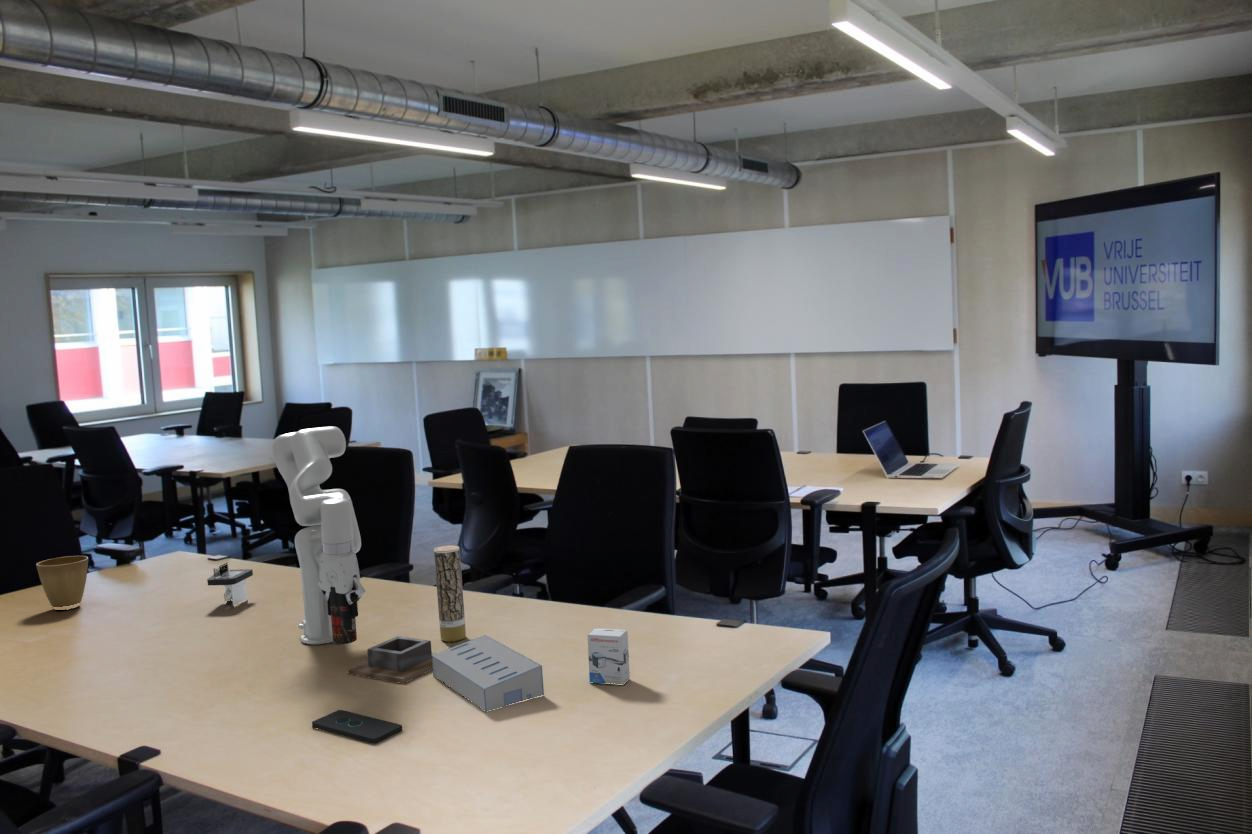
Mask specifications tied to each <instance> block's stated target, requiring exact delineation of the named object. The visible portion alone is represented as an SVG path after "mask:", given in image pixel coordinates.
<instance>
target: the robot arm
mask: <svg viewBox="0 0 1252 834" xmlns="http://www.w3.org/2000/svg"><path fill="white" fill-rule="evenodd" d="M346 447H347V440H346V437H345V434H344V433H343V431H342V430H341V428H339V427H337V426H331V425H330V426H321V427H319V426H318V427H312V428H311V427H310V428H303V429H299V430H298V431H293V432H288V433H284V434H279V435H278V436H277V437H275V438H274V440H273V441H272V447H271V449H272V455H273V456H272V457H273V459H274V460H273V461H274V463H275V466H276V468H277V469H278V472H279V473H280V475H281V476H282V479H283V480H284V482H285V484H286V486H287V489H288V490H287V491H288V494H289V501H290V503H289V504H290V506H291V508H292V512H293V516H294V520H295V522H296V523H297V524H299V526H302V527H304V528H302V529H300V530H299V531H298V532H296V534H295V536H294V546H295V548H294V549H295V551H296V555H297V560H298V563H299V569H300V577H301V587H302V588H301V589H302V598H303V599H302V600H303V601H302V602H303V610H304V619H303V620H302V621H301V623H299V624H298V626H297V628H298V629H299V630H303V634H301V636H300V641H301V643H302V644H303V643H304V644H305V643H306V645H324V644H325V643H326V644H331V643H333V636H332V622H331V609H330V595H329V592H331V591H330V586H331V587H335V590H336V593H338V594H344V595H346V598H347V601H348V603H349V604H347V605H346V606H347V618H348V619H352V618H355V619H356V617H358V616H359V609H358V608H359V607H358V602H359V601H360V599H361V598H362V596H363V595H364V594H365V592H366V589H365V587H364V586H363V584H362V583H361V576H360V568H359V563H358V558H357V555H356V554H357V553H358V552H359V551H360V550H361V547H362V538H361V534H360V530H359V529H360V528H359V525H358V521H357V517H356V513H355V509H354V506H353V501H352V498H351V496H350V495H349V493H348V492H347V491H346V489H342V488H332V489H322V488H321V487H320V485H321V484H323V483H324V482H326V481H327V480H328V479H329V478H330V476H332V473H333V465H332V463H331V460H330V459H331V458H338V457H341V456H342V455H344V453H345V451H346ZM350 593H352V595H353V597H352V598H351V595H350ZM330 642H331V643H330Z"/></svg>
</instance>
